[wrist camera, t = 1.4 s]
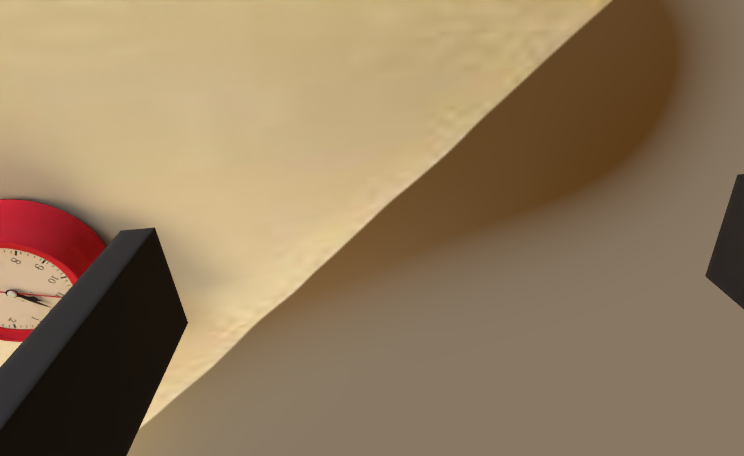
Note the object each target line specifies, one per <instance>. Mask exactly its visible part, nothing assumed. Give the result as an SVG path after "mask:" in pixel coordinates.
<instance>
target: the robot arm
mask: <svg viewBox="0 0 744 456" xmlns="http://www.w3.org/2000/svg"><path fill="white" fill-rule="evenodd" d="M706 277H707V278H708V279H709V280H710V281H712V282H713V283H714V284H715V285H716V286H718V287H719V288H720V289H721V290H722V291H723V292H724V293H726V294H727V295H728V296H729V297H730V298H732V300H734V301H735V302H736V303H737V304H738V305H740V306H741V307H742V308H743V309H744V174H742V175H737V178H736V181H735V184H734V188H733V191H732V194H731V197H730V201H729V204H728V206H727V210H726V213H725V216H724V219H723V222H722V225H721V229H720V232H719V235H718V238H717V241H716V245H715V247H714V251H713V254H712V257H711V260H710V263H709V266H708V270H707V273H706ZM187 324H188V321H187V318H186V316H185V313H184V310H183V307H182V304H181V301H180V298H179V295H178V293H177V290H176V287H175V284H174V281H173V278H172V275H171V273H170V270H169V267H168V264H167V261H166V258H165V255H164V252H163V250H162V247H161V244H160V241H159V238H158V235H157V232H156V229H155V228H146V229H135V230H123V231H120V232H119V234H118V235H117V236H116V237H115V238H114V239H113V240H112V242H111V243H110V244H109V245H108V246H107V247H106V248H105V249H104V251H103V252H102V253H101V254H100V255H99V256H98V257H97V259H96V260H95V261H94V262H93V263H92V264H91V265H90V266H89V268H88V269H87V270H86V271H85V272H84V273H83V274H82V276H81V277H80V278H79V279H78V280H77V281H76V282H75V283H74V285H73V286H72V287H71V288H70V289H69V290H68V291H67V293H66V294H65V295H64V296H63V297H62V298H61V299H60V300H59V302H58V303H57V304H56V305H55V306H54V307H53V308H52V309H51V311H50V312H49V313H48V314H47V315H46V316H45V317H44V319H43V320H42V321H41V322H40V323H39V324H38V325H37V326H36V328H35V329H34V330H33V331H32V332H31V333H30V334H29V336H28V337H27V338H26V339H25V340H24V341H23V342H22V343H21V345H20V346H19V347H18V348H17V349H16V350H15V351H14V353H13V354H12V355H11V356H10V357H9V358H8V359H7V360H6V362H5V363H4V364H3V365H2V366H1V367H0V456H126V455H127V453H128V451H129V449H130V447H131V445H132V443H133V440H134V438H135V436H136V434H137V432H138V430H139V427H140V425H141V423H142V421H143V419H144V417H145V414H146V412H147V410H148V408H149V406H150V404H151V401H152V399H153V397H154V395H155V393H156V391H157V389H158V386H159V384H160V382H161V380H162V378H163V376H164V373H165V371H166V369H167V367H168V365H169V363H170V360H171V358H172V356H173V354H174V352H175V350H176V347H177V345H178V343H179V341H180V339H181V337H182V334H183V332H184V330H185V328H186V326H187Z"/></svg>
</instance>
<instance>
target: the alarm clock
mask: <svg viewBox="0 0 744 456" xmlns="http://www.w3.org/2000/svg"><path fill="white" fill-rule="evenodd" d="M105 248H106V246H105V245H104V243H103V242H102V240H101V239H100V238H99V236H98V235H97V234H96V233H95V232H94V231H93V230H92V229H91V228H90V227H89V226H87V225H86V224H85V223H83V222H82V221H80V220H79V219H77V218H76V217H74V216H72V215H70V214H68V213H66V212H64V211H62V210H60V209H57V208H55V207H52V206H49V205H45V204H41V203H37V202H32V201H26V200H15V199H3V200H0V340H4V341H16V342H23V341H24V340H25V339H26V338H27V337H28V336H29V334H30V333H31V332H32V331H33V330H34V329H35V328H36V326H37V325H38V324H39V323H40V322H41V321H42V320H43V319H44V317H45V316H46V315H47V314H48V313H49V312H50V311H51V309H52V308H53V307H54V306H55V305H56V304H57V303H58V302H59V300H60V299H61V298H62V297H63V296H64V295H65V294H66V293H67V291H68V290H69V289H70V288H71V287H72V286H73V285H74V283H75V282H76V281H77V280H78V279H79V278H80V277H81V276H82V274H83V273H84V272H85V271H86V270H87V269H88V268H89V266H90V265H91V264H92V263H93V262H94V261H95V260H96V259H97V257H98V256H99V255H100V254H101V253H102V252H103V251H104V249H105Z"/></svg>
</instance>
